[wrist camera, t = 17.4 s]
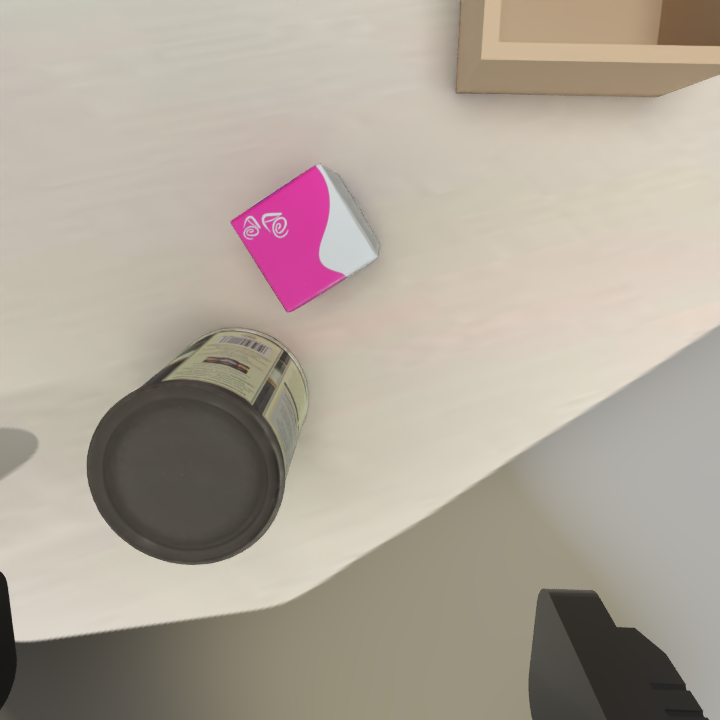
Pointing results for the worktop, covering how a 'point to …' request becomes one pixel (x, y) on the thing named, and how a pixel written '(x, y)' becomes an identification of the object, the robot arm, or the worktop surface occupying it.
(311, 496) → the worktop surface
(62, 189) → the worktop surface
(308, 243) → the supplement box
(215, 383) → the coffee can
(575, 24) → the carton
